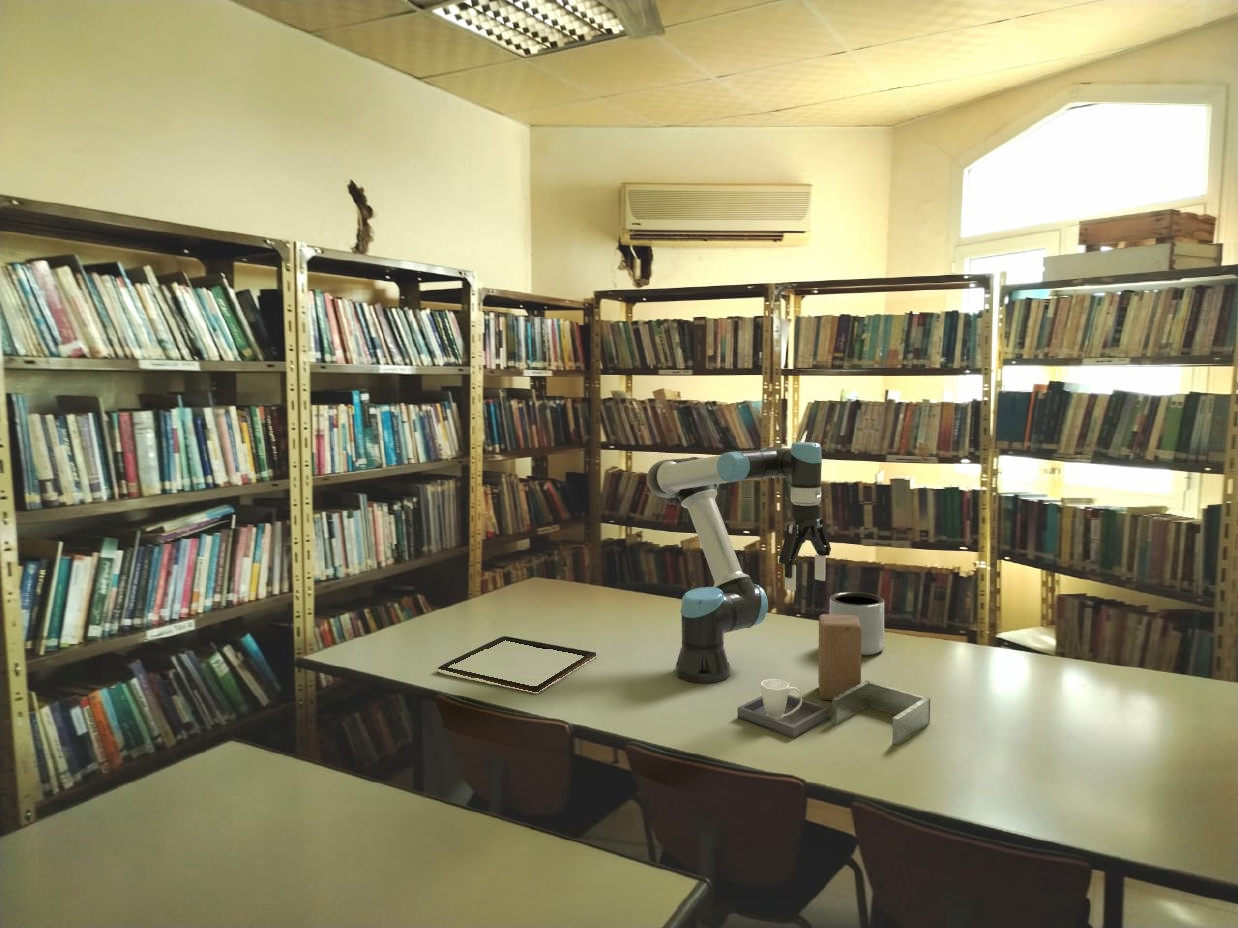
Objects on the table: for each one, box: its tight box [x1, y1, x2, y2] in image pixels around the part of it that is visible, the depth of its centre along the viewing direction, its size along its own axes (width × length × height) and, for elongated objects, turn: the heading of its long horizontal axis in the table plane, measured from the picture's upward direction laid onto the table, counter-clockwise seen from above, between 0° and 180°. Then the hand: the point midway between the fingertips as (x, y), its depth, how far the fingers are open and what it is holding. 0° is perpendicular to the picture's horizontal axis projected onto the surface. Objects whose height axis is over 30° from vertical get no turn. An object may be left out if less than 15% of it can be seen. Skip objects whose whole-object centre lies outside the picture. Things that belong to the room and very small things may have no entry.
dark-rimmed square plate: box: [437, 635, 597, 692], centre depth 226 cm, size 38×35×3 cm
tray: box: [737, 694, 830, 739], centre depth 187 cm, size 16×15×3 cm
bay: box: [831, 679, 931, 746], centre depth 183 cm, size 16×16×6 cm
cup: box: [760, 678, 803, 720], centre depth 187 cm, size 7×10×8 cm
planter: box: [829, 591, 885, 657], centre depth 235 cm, size 16×16×16 cm
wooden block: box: [817, 613, 862, 701], centre depth 200 cm, size 10×10×20 cm
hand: (805, 584), depth 200 cm, fingers open, 13 cm apart
